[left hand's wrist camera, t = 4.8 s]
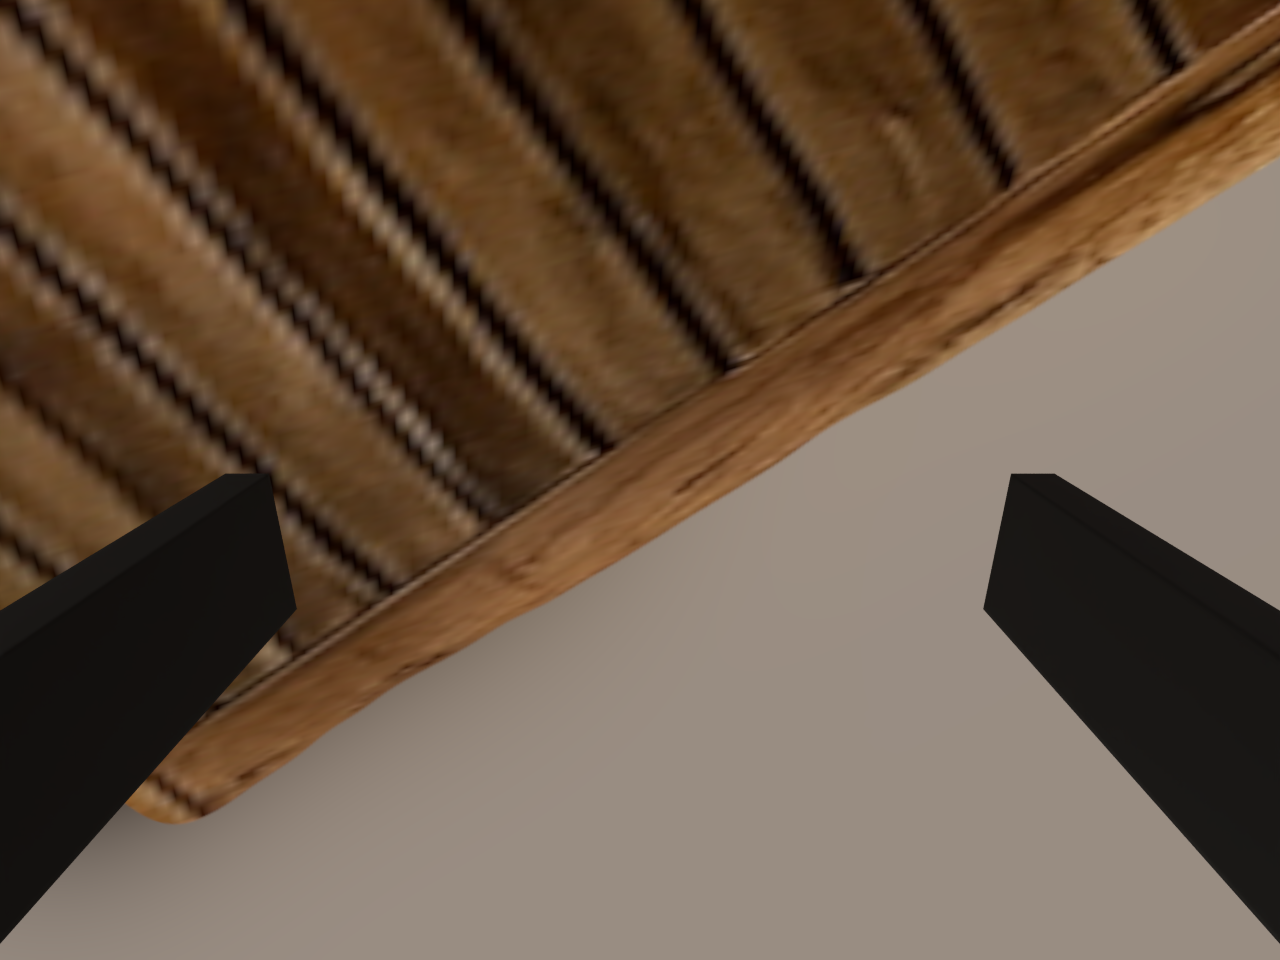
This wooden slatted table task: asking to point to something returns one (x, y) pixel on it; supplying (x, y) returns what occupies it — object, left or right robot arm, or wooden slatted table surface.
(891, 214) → the wooden slatted table surface
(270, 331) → the wooden slatted table surface
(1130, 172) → the wooden slatted table surface
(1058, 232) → the wooden slatted table surface
